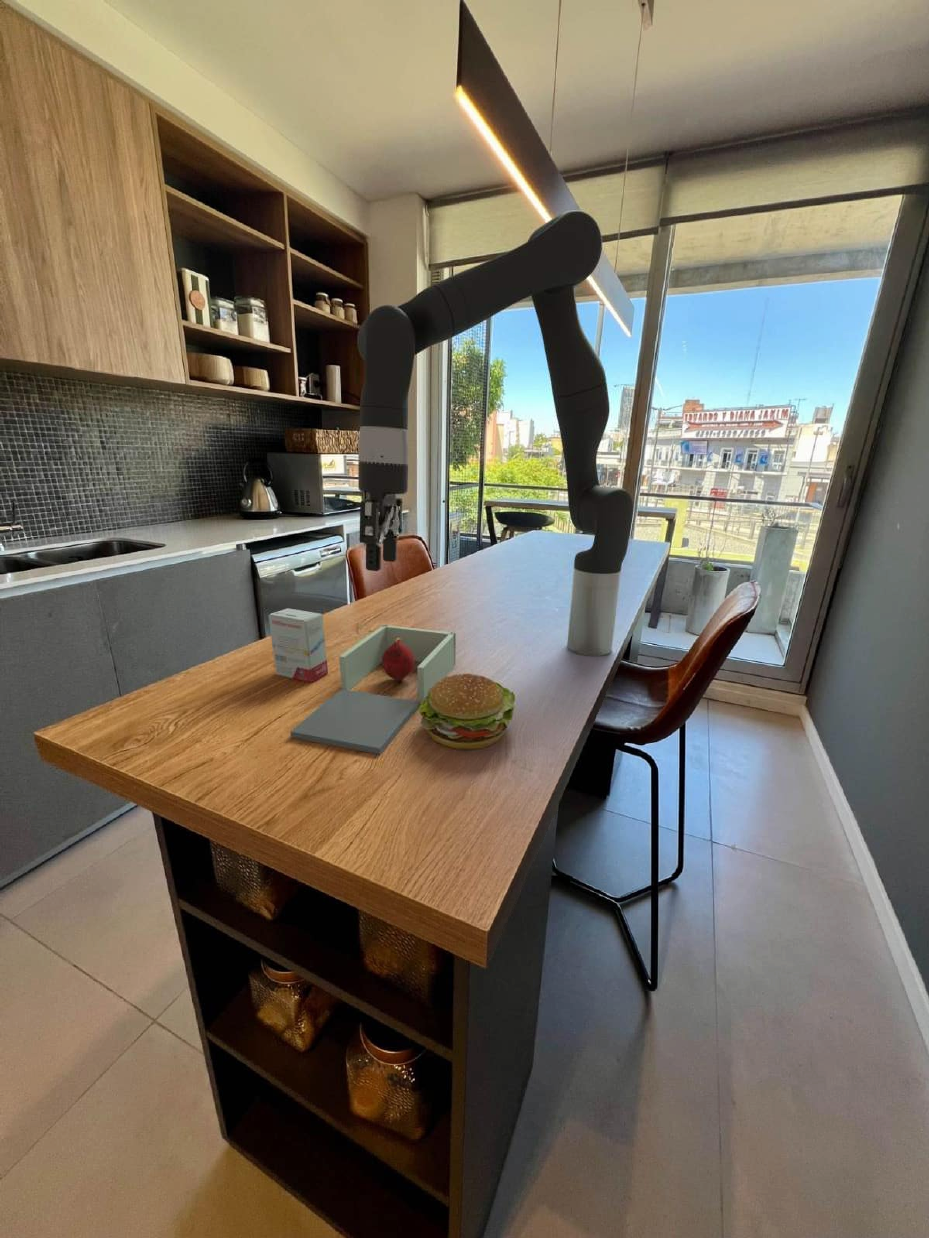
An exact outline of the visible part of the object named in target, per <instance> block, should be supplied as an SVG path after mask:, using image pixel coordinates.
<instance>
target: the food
mask: <svg viewBox="0 0 929 1238" xmlns="http://www.w3.org/2000/svg"><path fill="white" fill-rule="evenodd" d="M515 701H516V695H515V693H514V692H513V691H511V690H509V688H507V687H504V686H502V685H501V684H500V683H499V682H495V681H494V680H492V679H490V678H488V677H486V676H483V675H479V674H473V673H462V674H454V675H450V676H446V677H445V678H444V679H442V680H440V681H438V682H437V683H436V684H435V685H434V686H433V687H432V688H431V689H430V690H428V696H427V697H426V698H425V700H424V701H423V702H422V703H421V704H419V707H418V708H417V710H416V711H418V712H419V713H420V716H422V717H421V718H420V724H421V726H422V728H423V729H425V730H426V731H427V733H428V734H429V736H430V737H431V738H432V739H433V741H435V742H437V743H438V744H440V745H442V746H445V747H449V748H453V749H457V750H475V749H481V748H485V747H488V746H491V745H493V744H495V743H497V742H498V741H499V740H500V739H501V738H502V736H503V735H504V734H505V733H506V729H507V728H508V726H507V724H509V723H510V721H511V720H512V719H513V715H514V709H515V707H516V706H515V705H514V704H515Z"/></svg>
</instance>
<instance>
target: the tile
mask: <svg viewBox="0 0 929 1238" xmlns="http://www.w3.org/2000/svg"><path fill="white" fill-rule="evenodd" d="M419 706H420V704H419V701H418V700H414V699H413V700H412V699H407V698H401V697H400V698H399V697H393V696H387V695H381V694H375V693H369V692H362V691H355V690H351V689H350V690H344V689H342V688H341V689H339V690H338V691H337V692H336V693H334V694H333V695H332V696H331V697H330V698H329V699H327V700H326V701H325V702H323V704H321V705H320V706H319V707H318V708H317V709H315V710H314V711H313V712H312V713H310V714H309V715H308V716H307V717H306V718H305V719H302V721H301V722H300V723H298V724H297V725H296V726H295V727H294V728H293V729H291V730H290V731H289V733H290V738H291V737H293V739H297V740H301V739H302V740H303V741H306V742H312V743H318V744H322V745H328V746H332V747H339V748H342V749H350V750H354V751H358V752H364V753H369V754H375V755H378V756H379V755H381V754H382V753H383V752H384V751H385V750H386V748H387V747H388V746H389V745H390V744H391V742H392V740H394V739H395V737H396V736H397V735H398V733H399V732H401V730H402V729H403V727H404V726H405V724H406V723H407V722H408V721H409V720H410V718H411V717H413V715H414V713H415V712H416V711H418V710H417V709H418V708H419Z"/></svg>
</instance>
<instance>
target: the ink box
mask: <svg viewBox="0 0 929 1238" xmlns="http://www.w3.org/2000/svg"><path fill="white" fill-rule="evenodd" d="M268 623H269V628H270V629H269V630H270V637H271V645H272V654H273V661H274V669H275V675H277V676H280V675H281V676H280V677H286V678H289V679H294V680H298V681H303V682H307V683H314V682H316V681H318V680H320V679H321V678H323V677H324V676H326V675H328V673H329V669H328V658H327V647H326V638H325V627H324V616H323V613H319V612H312V611H307V610H306V611H305V610H300V609H293V608H289V607H288V608H284V609H282V610H279V611H274V612H272V613H270V614H268Z"/></svg>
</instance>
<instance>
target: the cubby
mask: <svg viewBox="0 0 929 1238" xmlns="http://www.w3.org/2000/svg"><path fill="white" fill-rule="evenodd" d="M456 635H457V634H456V632H450V631H441V630H432V629H425V628H424V629H423V628H414V627H406V626H398V625H390V624H388V625H387V624H383V625H381V626H380V627H378V628H376V630H374V631H373V632H371V633H370V634H368V635H367V636H365V637H364V638H363V639H361V640H360V641H359V642H358V643H356V644H355V645H353V646H352V647H350V648H349V649H347V650H346V651H345V652H343V653H341V654H340V655H339V657H338V659H339V672H340V685H341V689H344V690H350V691H351V690H352V689H353V688H354V687H355V686H356V685H357V684H358V683H360V682H361V681H362V680H364V678H366V677H367V676H368V675H369V674H370V673H371V672H372V671H374V670H375V669H376V668H377V667H378V666H379V665H381V664H382V657H383V654H384V652H385V650H386V649H387V648H388V647H389V646H391V645H392V644H393V643H394V642H395V640H396V639H397V638H400V639H401V640H402V644H404V645H406V646H407V647H409V648H410V649H411V651H412V652H413V655H414V659H415V662H418V663H420V664H419V665H418V666H417V670H416V671H417V701H419V705H421V703H422V702H423V701H424V700H425V698H426V697H427V696H428V690H430V689H431V688H432V687H433V686H434V685H435V684H436V683H437V682H438V681H440V680H442V679H444V678H446V677H448V675H449V673H450V672H451V670H452V669H453V668H454V667H455V666H456V651H457V650H456V648H457V647H456V638H457V637H456Z"/></svg>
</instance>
